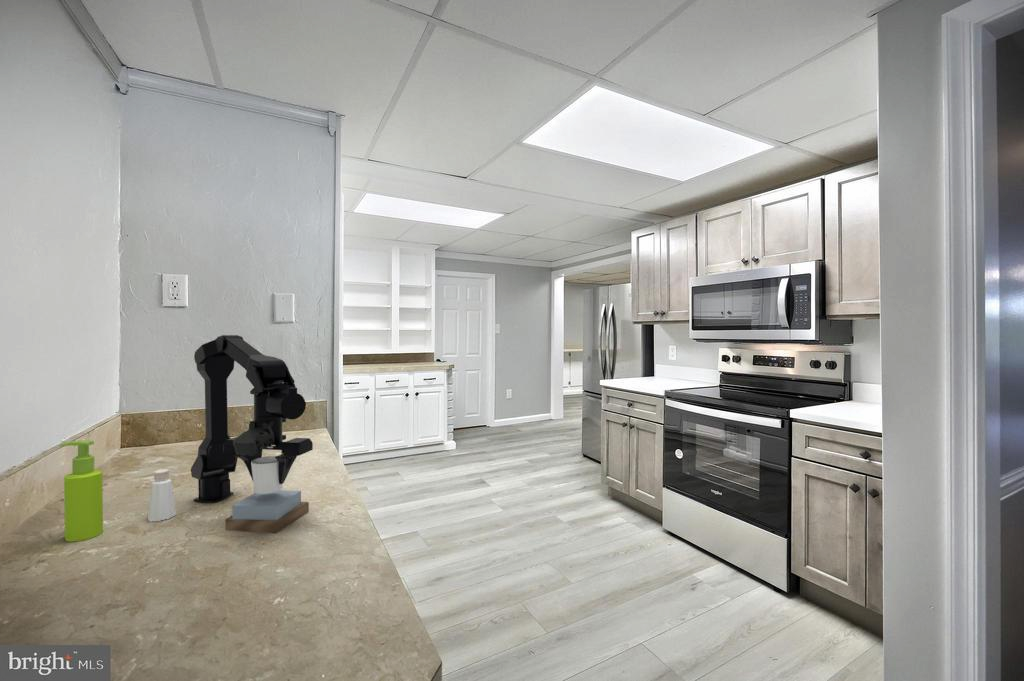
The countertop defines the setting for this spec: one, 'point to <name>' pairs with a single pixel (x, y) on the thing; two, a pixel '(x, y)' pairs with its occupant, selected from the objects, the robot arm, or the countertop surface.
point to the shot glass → (266, 475)
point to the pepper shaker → (161, 497)
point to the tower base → (268, 521)
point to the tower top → (266, 505)
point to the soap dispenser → (83, 496)
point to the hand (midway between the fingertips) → (268, 482)
